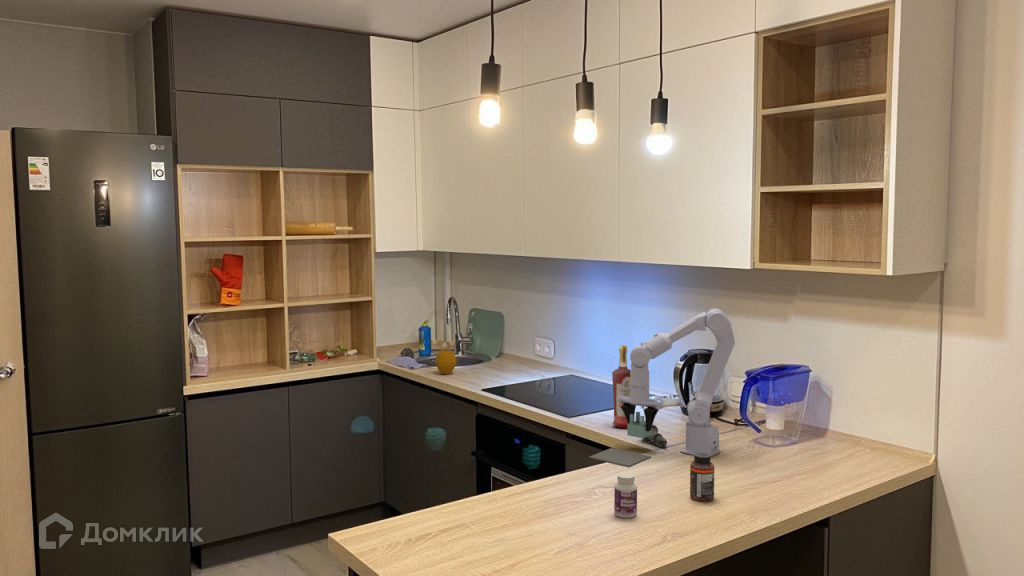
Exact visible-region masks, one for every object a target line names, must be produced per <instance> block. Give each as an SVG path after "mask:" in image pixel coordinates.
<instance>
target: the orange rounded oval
mask: <svg viewBox="0 0 1024 576" xmlns="http://www.w3.org/2000/svg"><path fill="white" fill-rule="evenodd" d="M456 357H457V356H456V355H455V353H454V352H453V351H452V350H449V349H443V350H440V351H439V352H438V353H437V355H436V357H435V365H436V368H437V370H438V371H439V374H441V373H443V374H448V375H450V374H451V373H453V371H454V369H455V368H456V366H457V358H456ZM449 373H450V374H449ZM443 374H442V375H443Z"/></svg>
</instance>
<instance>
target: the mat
mask: <svg viewBox="0 0 1024 576" xmlns="http://www.w3.org/2000/svg"><path fill="white" fill-rule="evenodd" d="M588 458H589V459H592V460H596V461H600V462H604V463H608V464H609V463H610V464H613V465H617V466H618V465H619V466H623V467H627V468H630V467H633V466H635V465H637V463H638V464H640V463H642V462H644V461H646V459H647V460H649V459H651V458H652V457H651V455H645V454H642V453H636V452H633V451H628V450H622V449H619V448H614V447H611V448H608V449H606V450H603V451H601V452H598V453H595V454H593V455H590V456H588ZM641 461H642V462H641ZM639 462H640V463H639Z"/></svg>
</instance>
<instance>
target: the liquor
mask: <svg viewBox="0 0 1024 576" xmlns="http://www.w3.org/2000/svg"><path fill="white" fill-rule="evenodd" d="M618 352H619V359H618V368H615V370H613V371H612V372H611V375H612V376H611V377H612V395H613V421H612V424H613V425H614V426H615V427H616V428H617V429H622V430H623V429H624V430H625V429H626V430H627V425H628V423H627V419H626V416H625V414H624V412H623V410H622V409H621V406H623V403H621V404H620V403H618V397H620V396H624V397H631V389H630V371H631V368H628V359H627V353H628V346H627V345H619V346H618Z"/></svg>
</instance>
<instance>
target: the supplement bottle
mask: <svg viewBox="0 0 1024 576" xmlns="http://www.w3.org/2000/svg"><path fill="white" fill-rule="evenodd" d="M711 457H712V456H710V454H708V453H695V454H694V455H693V461H691V463H690V466H689V467H690V469H689V470H690V471H689V478H690V479H689V494H690V495H689V496H690V498H691V499H693V500H694V501H697V502H710V501H712V500H713V499H714V497H715V464H714V463H713V462H711V460H712V459H711Z"/></svg>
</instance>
